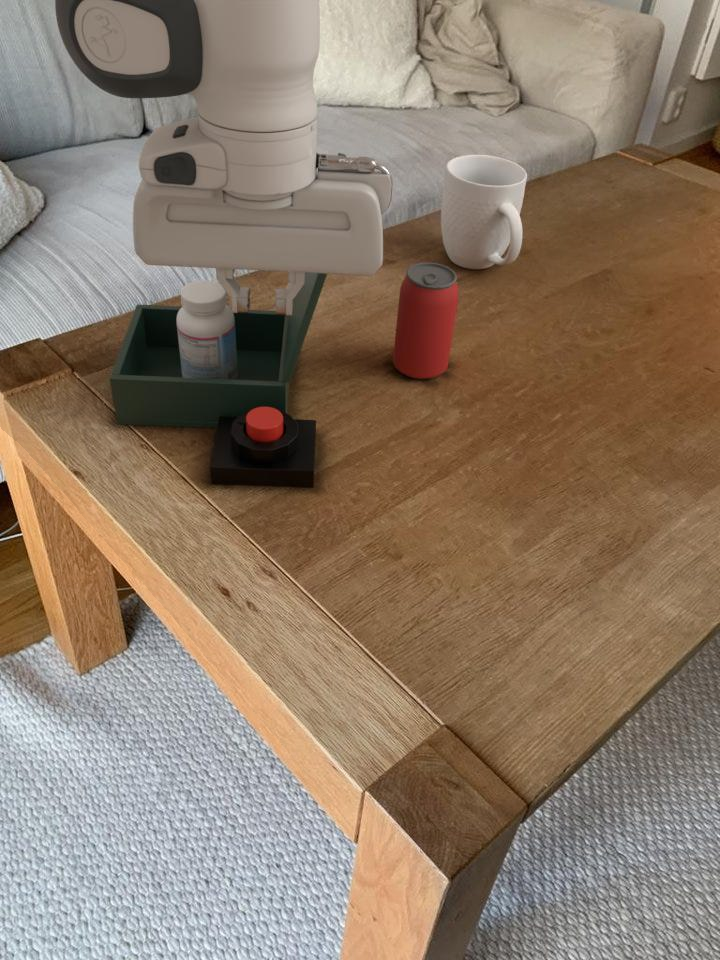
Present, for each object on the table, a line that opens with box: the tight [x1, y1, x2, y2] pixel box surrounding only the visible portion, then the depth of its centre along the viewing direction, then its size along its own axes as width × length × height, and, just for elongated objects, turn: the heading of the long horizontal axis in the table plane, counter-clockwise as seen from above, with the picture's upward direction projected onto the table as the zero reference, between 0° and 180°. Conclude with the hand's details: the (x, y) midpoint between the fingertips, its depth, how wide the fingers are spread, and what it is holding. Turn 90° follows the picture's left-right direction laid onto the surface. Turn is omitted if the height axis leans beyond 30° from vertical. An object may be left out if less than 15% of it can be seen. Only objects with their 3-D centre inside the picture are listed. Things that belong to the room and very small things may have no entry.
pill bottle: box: [176, 279, 238, 380], centre depth 87 cm, size 6×6×11 cm
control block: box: [209, 410, 317, 488], centre depth 82 cm, size 10×8×4 cm
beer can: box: [392, 261, 460, 380], centre depth 93 cm, size 7×7×12 cm
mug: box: [440, 154, 528, 270], centre depth 113 cm, size 15×11×13 cm
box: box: [109, 304, 291, 429], centre depth 90 cm, size 18×15×6 cm
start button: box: [246, 407, 283, 442], centre depth 80 cm, size 4×4×2 cm
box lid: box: [282, 152, 347, 384], centre depth 82 cm, size 18×15×5 cm
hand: (262, 311), depth 72 cm, fingers closed
